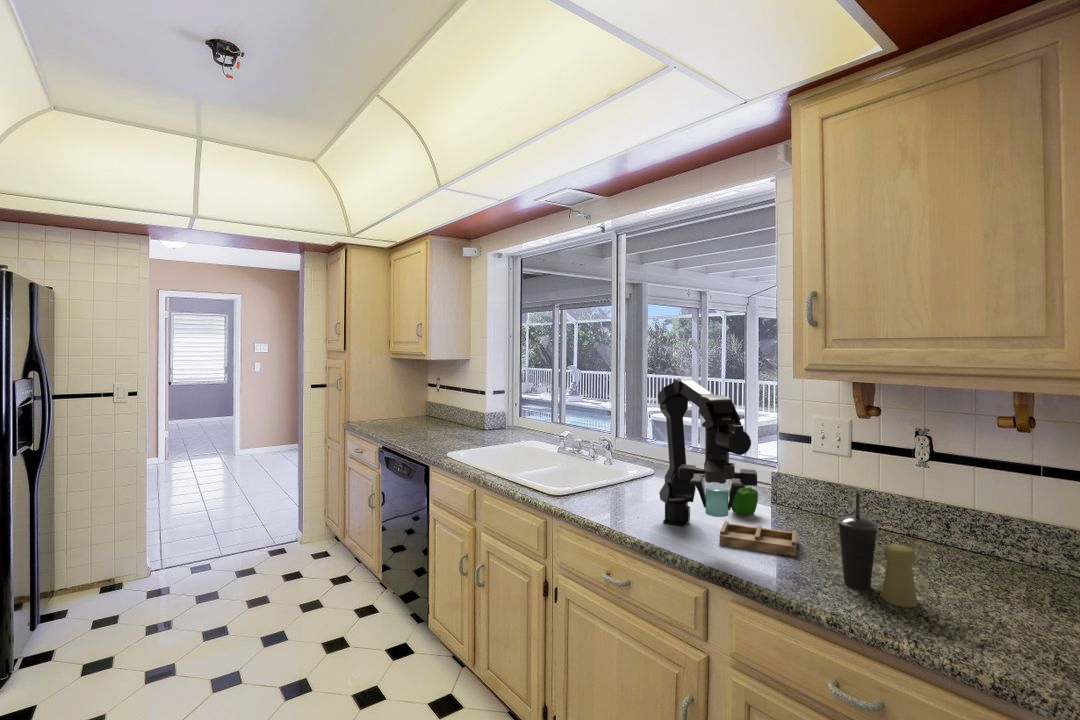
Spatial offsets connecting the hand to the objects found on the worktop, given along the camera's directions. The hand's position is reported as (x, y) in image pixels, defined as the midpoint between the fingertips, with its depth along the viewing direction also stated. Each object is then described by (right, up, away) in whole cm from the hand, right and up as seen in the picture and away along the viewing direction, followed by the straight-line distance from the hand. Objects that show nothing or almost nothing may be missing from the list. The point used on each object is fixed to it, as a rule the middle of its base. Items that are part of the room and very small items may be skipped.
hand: (717, 508), depth 131 cm
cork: (+28, -12, -25) cm, 40 cm away
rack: (+13, -11, +6) cm, 18 cm away
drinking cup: (+24, -11, -19) cm, 32 cm away
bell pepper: (+18, -10, +29) cm, 36 cm away
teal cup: (0, -1, 0) cm, 1 cm away
